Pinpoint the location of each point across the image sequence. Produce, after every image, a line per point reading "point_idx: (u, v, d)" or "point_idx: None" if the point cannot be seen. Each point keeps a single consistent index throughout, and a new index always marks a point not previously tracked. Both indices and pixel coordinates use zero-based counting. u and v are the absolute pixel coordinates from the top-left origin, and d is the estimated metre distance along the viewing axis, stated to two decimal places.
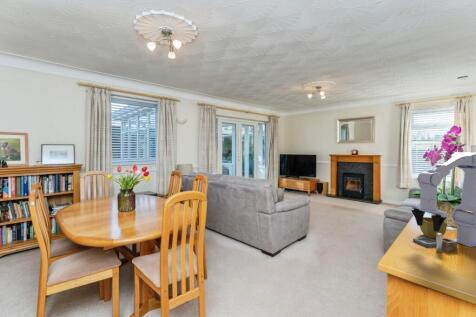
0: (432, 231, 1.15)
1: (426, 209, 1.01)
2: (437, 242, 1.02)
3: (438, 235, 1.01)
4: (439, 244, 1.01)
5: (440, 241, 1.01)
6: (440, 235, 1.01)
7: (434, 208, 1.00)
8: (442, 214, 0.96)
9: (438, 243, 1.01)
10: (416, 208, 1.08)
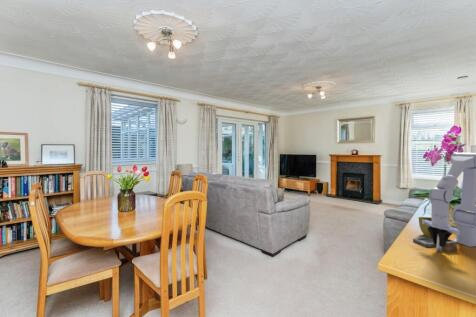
0: None
1: (438, 226, 1.00)
2: (437, 242, 1.02)
3: (438, 235, 1.01)
4: None
5: None
6: None
7: (446, 225, 0.99)
8: (455, 232, 0.95)
9: (438, 243, 1.01)
10: (427, 224, 1.07)
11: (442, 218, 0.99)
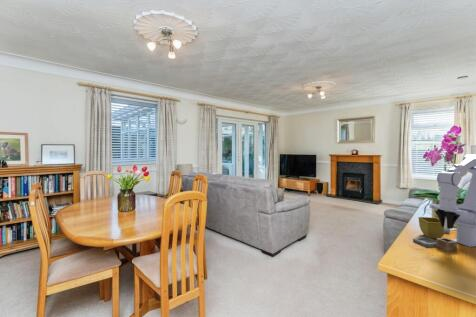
0: (432, 231, 1.15)
1: (446, 208, 1.02)
2: (445, 225, 1.04)
3: (446, 218, 1.03)
4: None
5: None
6: None
7: (454, 207, 1.01)
8: (463, 213, 0.97)
9: (446, 226, 1.04)
10: (434, 207, 1.09)
11: (450, 201, 1.01)
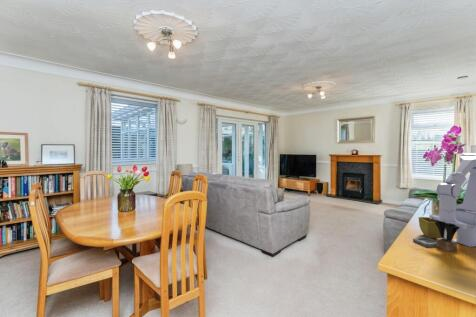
0: (432, 231, 1.15)
1: (445, 220, 1.02)
2: (444, 236, 1.04)
3: (445, 229, 1.04)
4: (446, 238, 1.04)
5: None
6: None
7: (453, 219, 1.01)
8: (462, 225, 0.97)
9: (445, 237, 1.04)
10: (434, 218, 1.09)
11: (450, 212, 1.01)
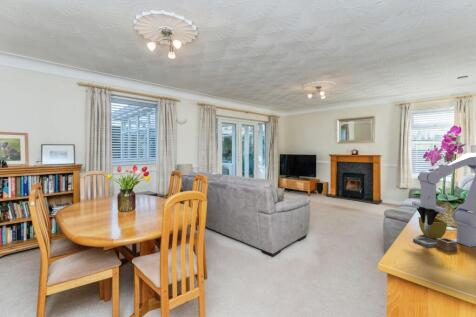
0: (432, 231, 1.15)
1: (426, 205, 1.08)
2: (425, 221, 1.10)
3: (426, 215, 1.09)
4: None
5: None
6: None
7: (433, 205, 1.07)
8: (441, 210, 1.03)
9: (426, 222, 1.09)
10: (416, 205, 1.15)
11: (430, 198, 1.07)
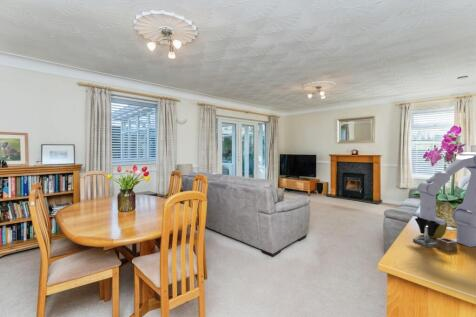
0: None
1: (425, 217, 1.08)
2: (425, 234, 1.10)
3: (426, 227, 1.10)
4: (426, 235, 1.09)
5: (427, 233, 1.09)
6: (427, 227, 1.09)
7: (433, 216, 1.07)
8: (440, 222, 1.03)
9: (426, 234, 1.10)
10: (416, 215, 1.15)
11: (429, 210, 1.07)
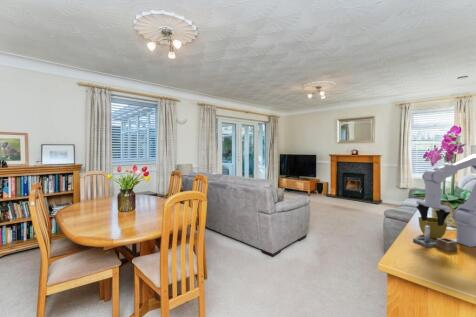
0: (432, 231, 1.15)
1: (431, 205, 1.08)
2: (425, 234, 1.10)
3: (426, 227, 1.09)
4: (427, 235, 1.09)
5: (428, 233, 1.09)
6: (428, 227, 1.09)
7: (438, 204, 1.07)
8: (446, 209, 1.03)
9: (426, 234, 1.10)
10: (421, 204, 1.15)
11: (434, 197, 1.07)
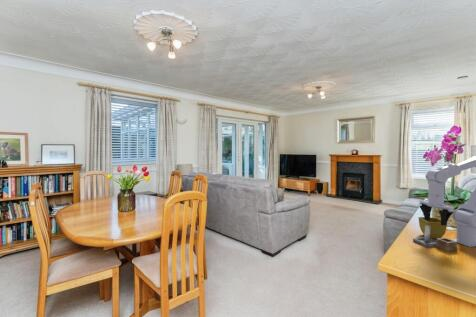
0: (432, 231, 1.15)
1: (434, 204, 1.08)
2: (425, 233, 1.10)
3: (426, 227, 1.09)
4: (427, 235, 1.09)
5: (428, 233, 1.09)
6: (428, 227, 1.09)
7: (441, 203, 1.07)
8: (449, 209, 1.03)
9: (426, 234, 1.10)
10: (424, 204, 1.15)
11: (438, 197, 1.07)
